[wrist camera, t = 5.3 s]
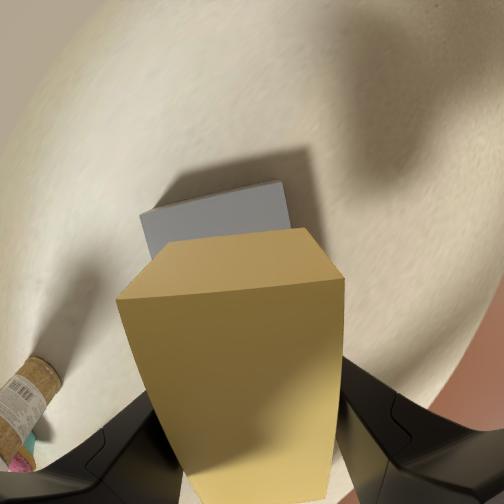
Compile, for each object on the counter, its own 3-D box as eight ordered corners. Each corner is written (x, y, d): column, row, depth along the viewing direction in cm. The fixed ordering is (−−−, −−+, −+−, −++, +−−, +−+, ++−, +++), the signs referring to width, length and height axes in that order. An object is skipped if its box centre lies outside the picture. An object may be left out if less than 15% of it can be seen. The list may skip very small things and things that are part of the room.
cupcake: (8, 399, 25) (-38, 459, 13) (56, 445, 27) (22, 510, 15) (-6, 414, 26) (-43, 465, 15) (36, 454, 28) (6, 508, 17)
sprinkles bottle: (22, 367, 23) (-45, 450, 10) (34, 347, 22) (-46, 438, 9) (54, 397, 24) (-4, 488, 11) (69, 380, 23) (3, 483, 10)
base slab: (299, 295, 21) (306, 316, 18) (187, 317, 21) (178, 339, 18) (277, 179, 19) (281, 181, 16) (155, 207, 19) (139, 215, 16)
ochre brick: (309, 420, 11) (325, 498, 7) (213, 428, 11) (204, 506, 7) (304, 227, 9) (344, 278, 5) (168, 242, 9) (115, 299, 5)
